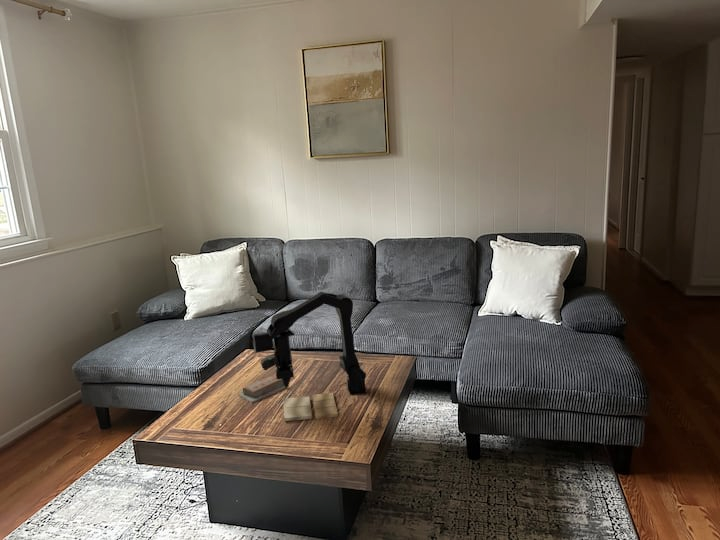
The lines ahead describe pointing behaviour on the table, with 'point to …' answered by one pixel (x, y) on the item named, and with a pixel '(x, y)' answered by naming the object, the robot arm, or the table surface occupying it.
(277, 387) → the packaged product
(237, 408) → the table surface
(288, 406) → the beige grooved panel
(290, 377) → the robot arm
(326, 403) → the laid board
